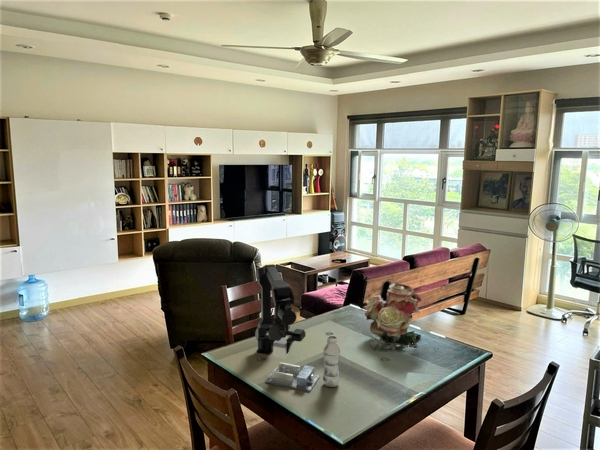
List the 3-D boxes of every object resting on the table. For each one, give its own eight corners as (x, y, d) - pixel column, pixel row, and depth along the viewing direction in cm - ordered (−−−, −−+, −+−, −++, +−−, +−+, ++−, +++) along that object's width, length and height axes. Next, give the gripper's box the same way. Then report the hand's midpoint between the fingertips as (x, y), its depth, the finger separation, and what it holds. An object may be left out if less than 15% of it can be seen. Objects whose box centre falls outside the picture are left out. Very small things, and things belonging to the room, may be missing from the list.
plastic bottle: (334, 391, 169) (335, 342, 166) (319, 386, 173) (320, 338, 170) (342, 383, 175) (343, 336, 172) (327, 379, 178) (328, 332, 175)
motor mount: (265, 382, 175) (265, 372, 174) (277, 368, 186) (277, 358, 185) (310, 392, 169) (310, 381, 168) (319, 377, 180) (319, 366, 179)
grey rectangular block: (273, 356, 176) (273, 342, 175) (278, 351, 181) (278, 337, 180) (284, 358, 174) (284, 344, 173) (289, 353, 179) (289, 339, 178)
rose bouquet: (362, 329, 228) (364, 274, 223) (420, 334, 222) (424, 277, 217) (359, 351, 203) (361, 289, 198) (424, 357, 198) (428, 294, 193)
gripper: (251, 319, 170) (251, 356, 173) (296, 326, 164) (295, 365, 167) (263, 309, 181) (263, 345, 183) (306, 316, 174) (305, 352, 177)
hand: (281, 352), depth 177 cm, fingers closed on grey rectangular block, 5 cm apart
